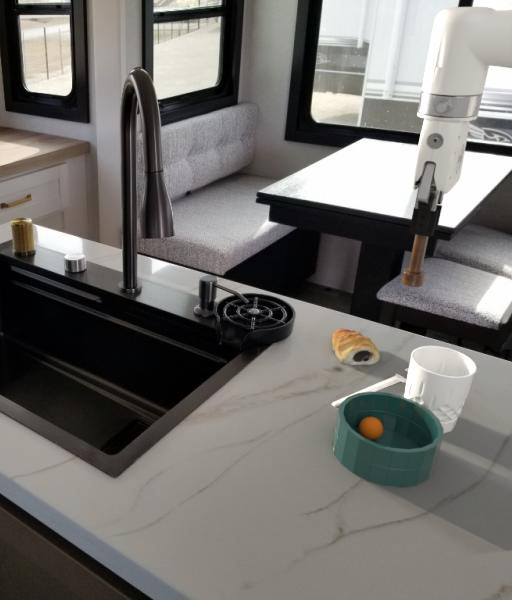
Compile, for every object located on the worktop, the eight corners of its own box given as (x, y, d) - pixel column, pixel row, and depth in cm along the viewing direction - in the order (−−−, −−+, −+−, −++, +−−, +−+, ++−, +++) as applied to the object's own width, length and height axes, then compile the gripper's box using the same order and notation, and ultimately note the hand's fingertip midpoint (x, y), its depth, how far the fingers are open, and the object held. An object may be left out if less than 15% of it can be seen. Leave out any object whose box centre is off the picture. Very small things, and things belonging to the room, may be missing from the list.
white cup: (461, 414, 90) (478, 354, 86) (455, 446, 84) (474, 383, 80) (401, 398, 94) (415, 340, 89) (392, 427, 88) (407, 366, 83)
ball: (373, 429, 87) (377, 411, 86) (385, 443, 84) (389, 425, 83) (353, 431, 86) (356, 413, 85) (364, 445, 84) (368, 427, 82)
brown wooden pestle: (415, 277, 101) (433, 192, 95) (427, 286, 98) (446, 198, 92) (397, 279, 101) (413, 193, 94) (408, 288, 98) (426, 200, 92)
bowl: (398, 423, 89) (407, 387, 86) (453, 484, 78) (465, 445, 75) (316, 432, 87) (322, 396, 85) (361, 496, 77) (369, 457, 74)
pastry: (321, 339, 110) (324, 319, 108) (360, 338, 110) (364, 318, 108) (341, 369, 101) (345, 348, 100) (383, 367, 102) (387, 347, 100)
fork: (324, 402, 93) (325, 392, 92) (417, 366, 102) (419, 356, 101) (340, 414, 91) (342, 404, 90) (435, 376, 99) (437, 366, 98)
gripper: (467, 118, 80) (437, 254, 88) (489, 99, 91) (460, 221, 99) (404, 113, 84) (381, 243, 92) (432, 95, 95) (410, 213, 103)
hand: (423, 231), depth 96 cm, fingers closed on brown wooden pestle
